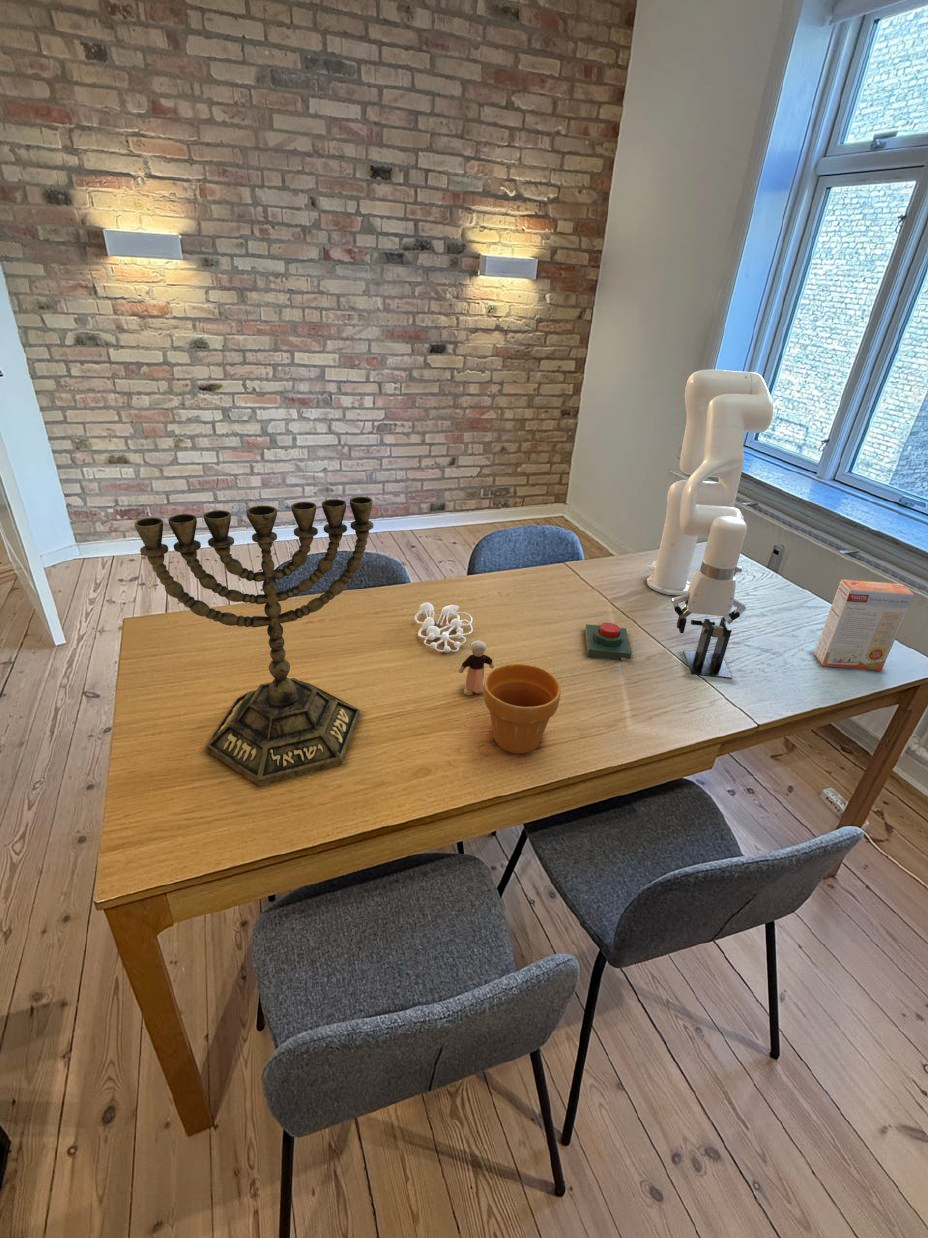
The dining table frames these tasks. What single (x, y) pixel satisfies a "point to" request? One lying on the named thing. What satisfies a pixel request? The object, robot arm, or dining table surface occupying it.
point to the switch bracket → (710, 662)
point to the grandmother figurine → (476, 668)
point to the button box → (606, 644)
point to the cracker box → (862, 624)
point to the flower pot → (520, 704)
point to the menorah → (285, 708)
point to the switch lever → (716, 628)
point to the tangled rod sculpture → (434, 631)
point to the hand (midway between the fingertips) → (700, 632)
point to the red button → (609, 630)
